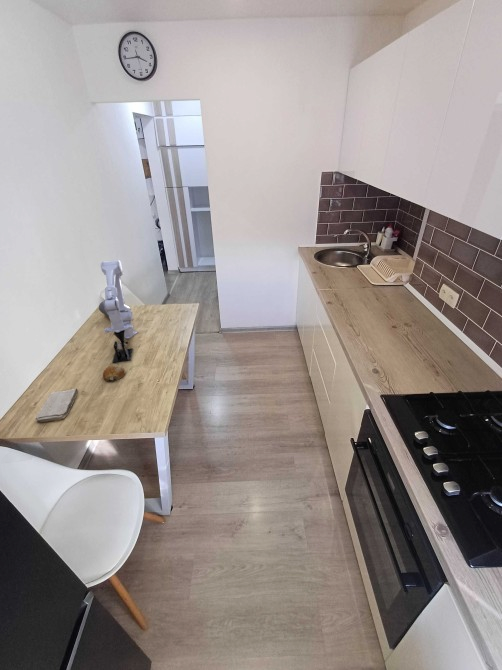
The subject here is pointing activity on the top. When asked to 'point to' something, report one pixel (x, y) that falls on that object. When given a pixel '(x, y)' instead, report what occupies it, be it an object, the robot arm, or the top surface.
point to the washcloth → (57, 405)
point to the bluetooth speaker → (102, 309)
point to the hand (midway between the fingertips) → (122, 341)
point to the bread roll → (113, 372)
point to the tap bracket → (122, 353)
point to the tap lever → (120, 345)
